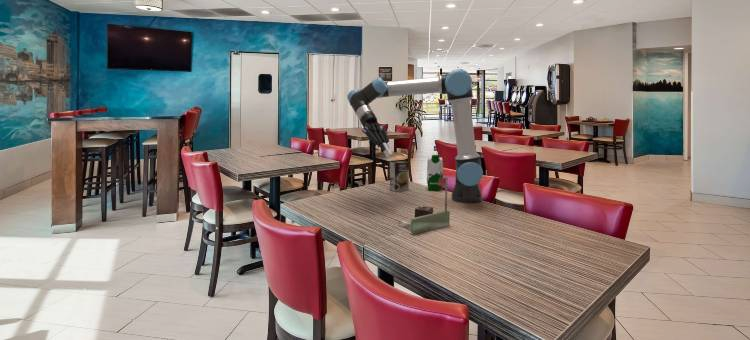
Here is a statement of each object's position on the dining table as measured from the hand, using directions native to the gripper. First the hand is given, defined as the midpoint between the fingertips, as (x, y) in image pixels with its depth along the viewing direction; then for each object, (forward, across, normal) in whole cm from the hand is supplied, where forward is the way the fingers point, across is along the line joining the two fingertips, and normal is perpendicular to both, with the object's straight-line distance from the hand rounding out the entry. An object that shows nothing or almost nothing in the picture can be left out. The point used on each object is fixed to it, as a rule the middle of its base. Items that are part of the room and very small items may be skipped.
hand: (389, 155), depth 196 cm
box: (+36, +3, -1) cm, 36 cm away
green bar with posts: (+36, +4, -1) cm, 36 cm away
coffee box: (-4, -34, -41) cm, 53 cm away
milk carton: (+4, -50, -33) cm, 60 cm away
